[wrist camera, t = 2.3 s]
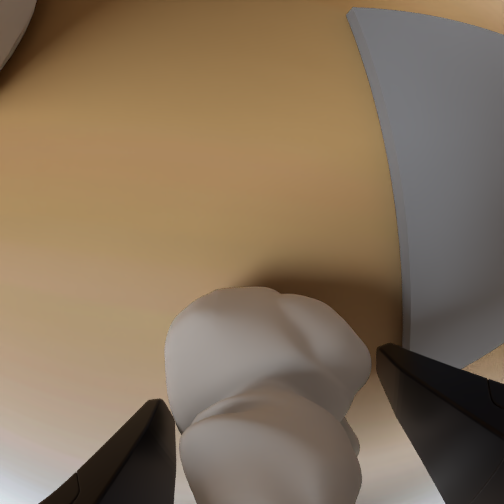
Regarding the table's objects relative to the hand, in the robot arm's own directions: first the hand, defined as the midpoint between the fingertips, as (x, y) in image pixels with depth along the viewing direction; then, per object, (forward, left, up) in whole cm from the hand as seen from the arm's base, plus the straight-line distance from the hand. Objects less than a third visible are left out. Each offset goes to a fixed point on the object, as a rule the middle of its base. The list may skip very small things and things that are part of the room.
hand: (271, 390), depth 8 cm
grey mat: (+3, -10, -2) cm, 11 cm away
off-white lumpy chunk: (0, 0, -2) cm, 2 cm away
